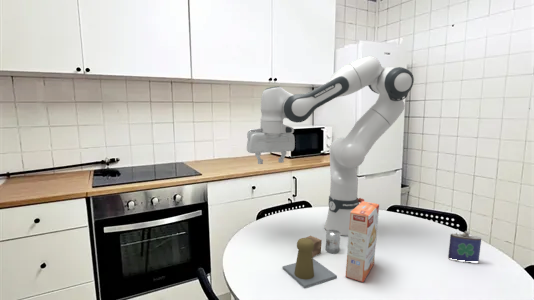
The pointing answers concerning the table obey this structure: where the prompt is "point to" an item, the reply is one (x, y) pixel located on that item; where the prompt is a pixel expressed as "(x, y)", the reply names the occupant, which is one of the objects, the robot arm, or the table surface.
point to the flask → (464, 247)
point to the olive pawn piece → (304, 259)
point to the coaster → (319, 274)
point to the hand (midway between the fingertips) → (270, 163)
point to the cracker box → (362, 240)
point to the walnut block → (316, 245)
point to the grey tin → (332, 241)
